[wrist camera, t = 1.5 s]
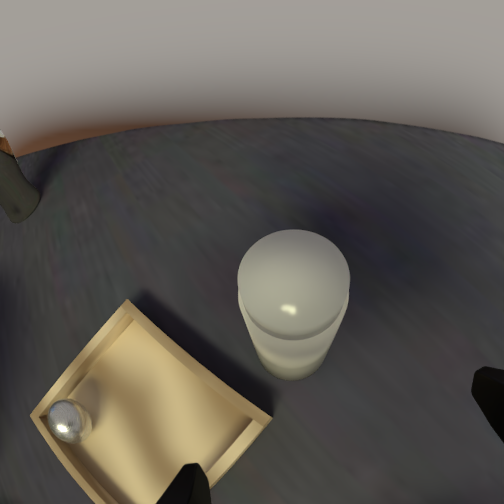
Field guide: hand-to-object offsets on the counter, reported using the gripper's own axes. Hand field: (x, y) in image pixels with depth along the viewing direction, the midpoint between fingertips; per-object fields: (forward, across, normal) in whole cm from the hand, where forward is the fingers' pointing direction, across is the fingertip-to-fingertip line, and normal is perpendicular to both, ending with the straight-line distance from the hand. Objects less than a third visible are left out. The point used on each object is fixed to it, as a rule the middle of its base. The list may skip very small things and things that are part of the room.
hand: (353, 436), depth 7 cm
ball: (+11, +17, +6) cm, 21 cm away
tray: (+11, +12, +7) cm, 18 cm away
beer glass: (+32, +30, -13) cm, 46 cm away
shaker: (+14, 0, +4) cm, 15 cm away
